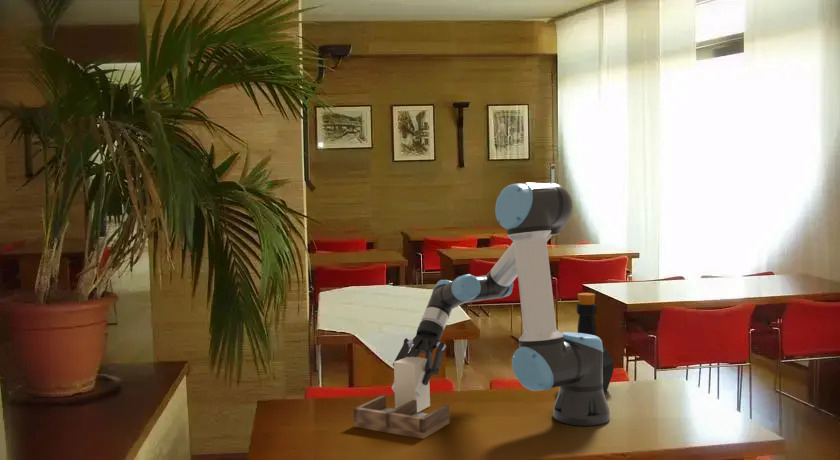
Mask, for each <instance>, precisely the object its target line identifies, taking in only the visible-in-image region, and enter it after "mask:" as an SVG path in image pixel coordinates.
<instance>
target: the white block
mask: <svg viewBox="0 0 840 460" xmlns="http://www.w3.org/2000/svg"><path fill="white" fill-rule="evenodd" d="M394 361H395V360H394ZM394 361H393V363H394V366H393V374H394V375H393V380H394V381H393V383H394V386H395V392H394V409H396V408H398V407H400V406H402V405H404V404H406V403H408V402H410V401H412V400H417V412H419V413H421V412H422V411H423V410H426V409H427V408H429V407H430V406H431V396H430V395H431V393H430V392H431V391H430V390H431V389H430V381H429V382H428V384H427V385H425V386H424V389H423V391H422V394H421V396H418V395H417V394H416V392H415V389H416V387H417V384H418V382H419V379H420V376H421V374H422V371H424V372H425V373H426V371H425V364H426V362H427V359H425V357H419V356H416V357H405V358H403V359H400V360H398V361H395V362H394Z"/></svg>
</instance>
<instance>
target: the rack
mask: <svg viewBox="0 0 840 460" xmlns="http://www.w3.org/2000/svg"><path fill="white" fill-rule="evenodd" d="M386 401H387V398H386V395H380V396H378V397H376V398H374V399H372V400H369V401H367V402H365V403H363V404H360V405H358V406H356V407H354V408H353V427H354V428H358V429H363V430H370V431H375V432H376V431H377V432H381V433H386V434H387V433H388V434H393V435H394V434H395V435H400V436H404V437H405V436H406V437H410V438H418V439H422V440H424V439H426V438H427V437H429V436H431V435H432V434H434V433H436V432H437V431H439V430H441V429H442V428H444V427H446V426H447V425H449V424H450V423H451V421H450V405H449V404H446V403H445V404H443V405H441V406H440V407H438V408H436V409H434V410H432V411H431V412H429V413H425V412H417V400H412V401H410V402H408V403H406V404H404V405H402V406H400V407H398V408H396V409H395V408H391V407H387V402H386Z"/></svg>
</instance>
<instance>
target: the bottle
mask: <svg viewBox="0 0 840 460" xmlns="http://www.w3.org/2000/svg"><path fill="white" fill-rule="evenodd" d="M577 298H578V299H577V300H578V303H576V313H577V315H578V322H577V333H583V334H590V335H595V336H597V323H596V317H595V315H597V314H598V313H597V311H598V310H597V309H598V307H597V306H598V305H597V303H595V301H596V293H593V292H581V293H577ZM602 347H603V392H604V393H606V392H607V391H608V390H609V386H610V382H611V380H612V377H613V373H614V363H615V361H614V360H613V358H612V357H611V354H610V353H609V351H608V349H607V348H605V347H604V346H602Z"/></svg>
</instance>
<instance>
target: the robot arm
mask: <svg viewBox="0 0 840 460" xmlns="http://www.w3.org/2000/svg"><path fill="white" fill-rule="evenodd" d="M573 208H574V205H573V200H572V196H571V195H570V193H569V191H568V190H567V189H566V188H565V187H563V185H561V184H558V183H555V182H519V183H511V184H509V185H507V186H505V187H504V188H503V189H502V190H501V191H500V193H499V195H498V196H497V198H496V201H495V209H494V210H495V212H494V213H495V218H496V221H497V222H498V223H499V225H500V226H501V227H502V228H504V229H506V236H507V237H508V238H509V239H510V241H512V243H511V244H510V245H509V246H508V247H507V249H506V250H505V252H504V253H503V254H502V255H501V256H500V258H499V259H498V260H497V261H496V263H495V264H494V265H493V267H492V268H491V269H490V270H489V272H488V273H487V274H486V275H485V274H484V275H477V276H475V275H472V274H470V273H468V274H463V275H459V276H458V277H456V278H455V279H453V280H452V281H451V280H448V279H440V280H438V281H437V283H436V284H435V286H434V288H433V289H432V293H431V295H430V298H429V301H428V303H427V305H426V307H425V309H424V312H423V315H422V317H421V321H420V322H419V325H418V328H417V329H416V334H415V336H414V337H413V338H412V339H408V338H404V340H403V343H402V344H403V345H402V347H401V348H400V350H399V352H398V354H397V356H396V357H395V359H394V361H393V363H392V367H394V362H395V361H398V360H400V359H403V358H405V357H419V355H420V354H425V356H424V358H425V359H427V362H426V364H425V371H426V373H425V372H424V371H422V374H421V376H420V379H419V382H418V384H417V387H416V389H415V392H416V394H417V395H418V396H421V394H422V391H423V389H424V386H425V385H427V384H428V382H429V383H430V379H431V378H432V376H434V375H435V376H438V375H439V372H440V369H441V365H442V360H443V356H444V353H445V352H446V350H447V349H448V347H447V345H446V344H445V342H444V341H441V338H442V337H443V334H444V330H445V328H446V325H447V323H448V321H449V318H450V317H451V316H450V315H451V313H452V310H454V309H455V308H458V307H459V306H461V305H463V304H466V303H474V302H481V301H488V300H495V299H497V300H499V299H503V298H506V297H509V296H510V295H511V294H512V293H513V288H514V281H515V280H516V279H517V281H518V289H519V290H518V292H519V298H520V300H519V301H520V309H521V310H520V311H521V318H522V327H523V333H522V334H521V336H520V337H519V338H518V345H519V347H518V348H517V349H516V350H515V351H514V353H513V355H512V360H511V365H512V371H513V374H514V376H515V377H516V380H517V381H518V382H519V383H520V384H521V385H522V386H523V388H525V389H527V390H529V391H533V392H540V391H548V390H550V389H553V388H557V387H559V390H558V394H557V396H556V399H555V402H554V405H553V419H554V420H556V421H557V422H558V423H559V422H560V423H562V424H566V425H570V426H578V427H580V426H582V427H583V426H585V427H590V426H600V425H603V424H605V423H608V422H610V419H611V411H610V407H609V404H608V401H607V398H606V395H605V392H603V347H604V346H603V340H602V339H601V338H600V337H599V336H597V335H596V336H595V335H590V334H583V333H578V332H572V331H571V332H570V331H565V332H560V331H559V329H557V321H556V311H555V302H554V295H553V294H554V292H553V286H552V275H551V270H550V269H551V267H550V258H549V250H548V241H549V240H550V239H551V238H552V237H553V236H557V235H559V233H561V232H562V230H563V229H564V228H565V227H566V226H567V224H568V223H569V221H570V219H571V218H572V217H571V216H572V214H573V211H574V209H573ZM440 341H441V342H440ZM435 349H436V350H435ZM434 350H435V354H434ZM433 358H434V359H433ZM391 389H392V391H393V393H395V386H394V382H393V383H392V386H391Z"/></svg>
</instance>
